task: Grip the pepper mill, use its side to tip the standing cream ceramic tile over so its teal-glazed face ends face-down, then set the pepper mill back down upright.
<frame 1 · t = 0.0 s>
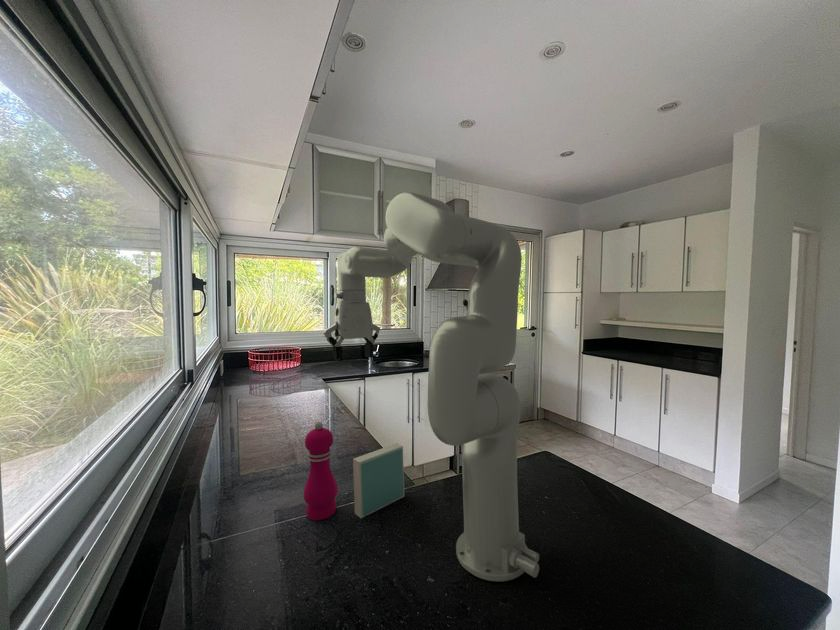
hand: (354, 359, 92), 31 cm above the counter, tool pointing down, fingers open, 9 cm apart
pepper mill: (321, 512, 73), on the counter
glazed tile: (380, 504, 75), on the counter
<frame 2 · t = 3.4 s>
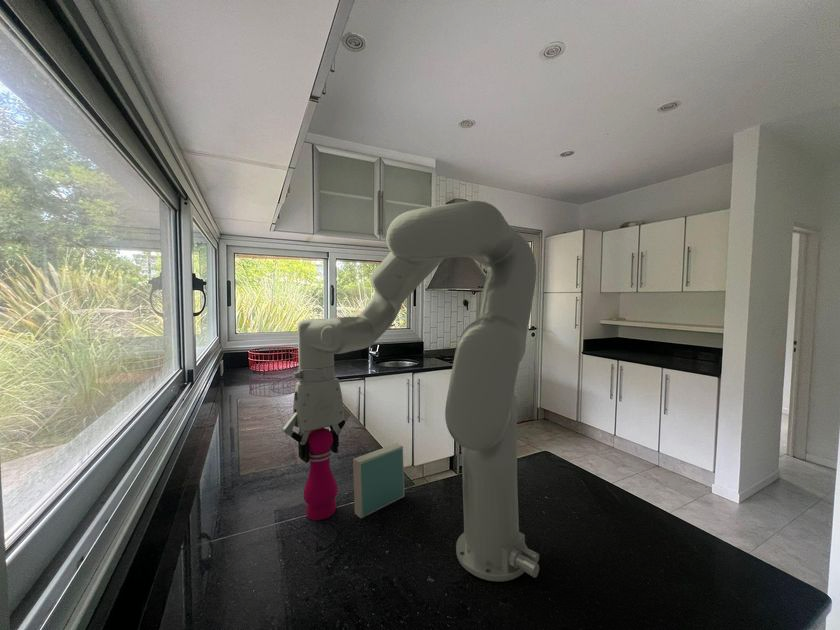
hand: (319, 455, 73), 13 cm above the counter, tool pointing down, fingers closed on pepper mill, 6 cm apart
pepper mill: (321, 512, 73), on the counter, touching gripper
everything else where it was.
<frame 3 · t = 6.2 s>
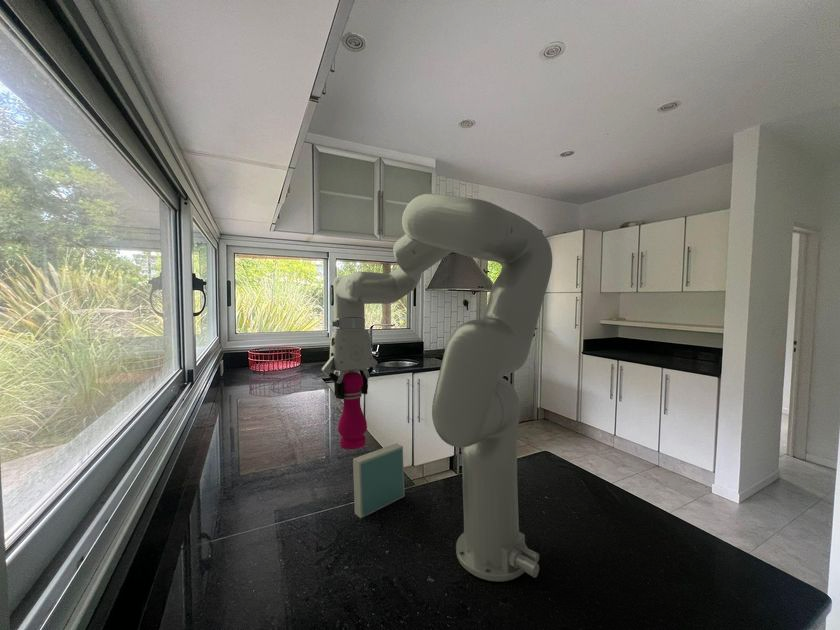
hand: (351, 395, 84), 23 cm above the counter, tool pointing down, fingers closed on pepper mill, 6 cm apart
pepper mill: (353, 445, 84), point 10 cm above the counter, touching gripper
everything else where it was.
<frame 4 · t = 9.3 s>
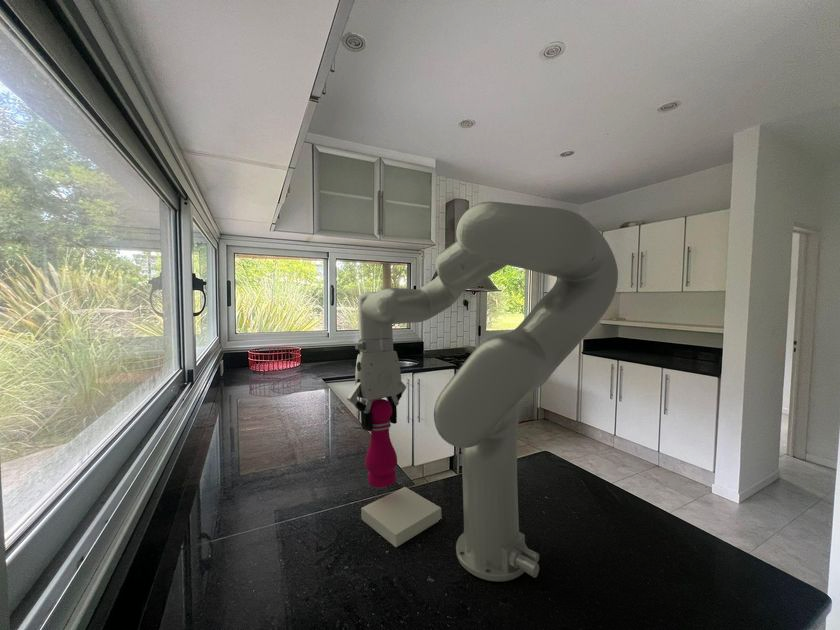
hand: (379, 425, 75), 18 cm above the counter, tool pointing down, fingers closed on pepper mill, 6 cm apart
pepper mill: (382, 481, 75), point 5 cm above the counter, touching gripper
glazed tile: (384, 502, 74), point 1 cm above the counter, tilted 90°
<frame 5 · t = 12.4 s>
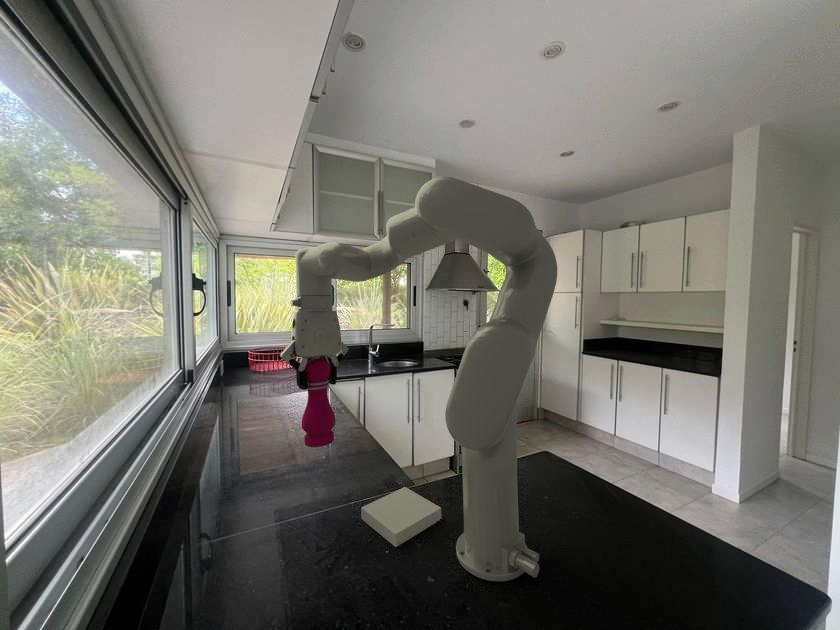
hand: (317, 385, 73), 28 cm above the counter, tool pointing down, fingers closed on pepper mill, 6 cm apart
pepper mill: (319, 442, 73), point 15 cm above the counter, touching gripper
everything else where it was.
when the fingers open (14 cm above the counter, at t = 15.4 s): pepper mill drops 1 cm, on the counter.
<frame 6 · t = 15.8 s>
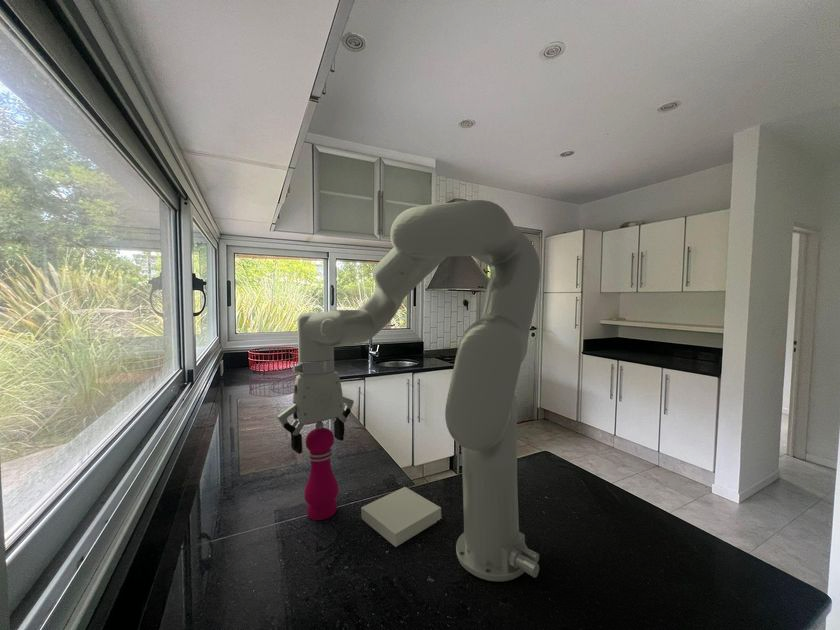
hand: (319, 445, 73), 15 cm above the counter, tool pointing down, fingers open, 9 cm apart
pepper mill: (322, 512, 73), on the counter
everything else where it was.
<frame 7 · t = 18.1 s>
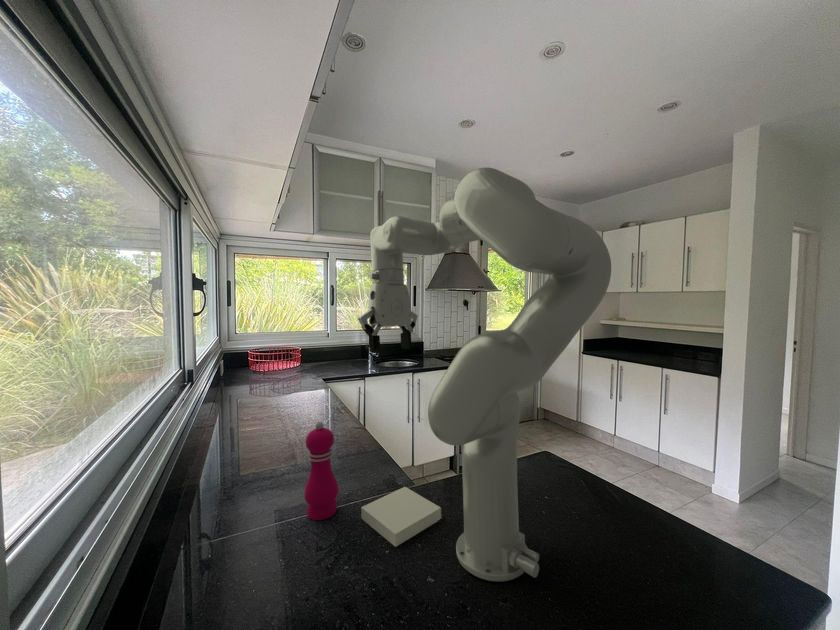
hand: (391, 350, 79), 35 cm above the counter, tool pointing down, fingers open, 9 cm apart
nothing on the counter moved.
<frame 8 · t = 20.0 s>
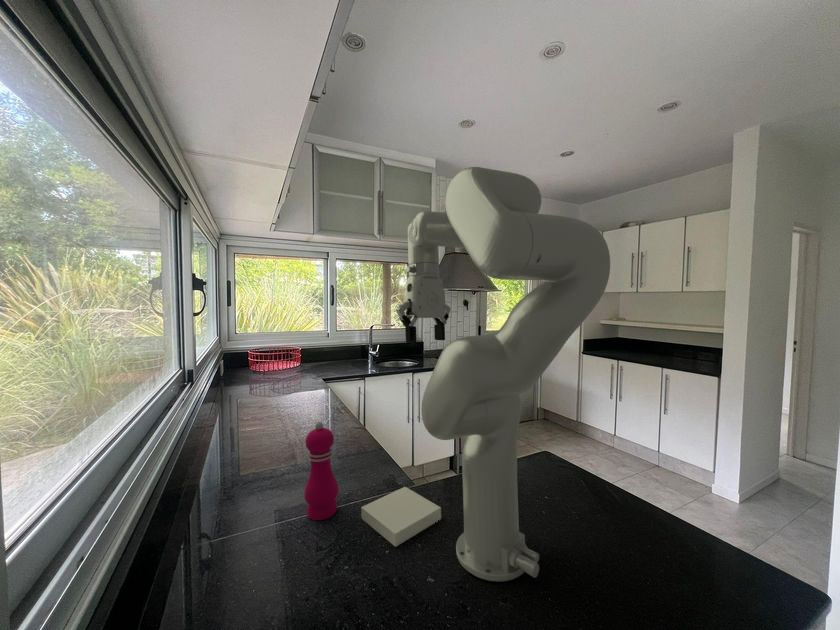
hand: (426, 341, 82), 36 cm above the counter, tool pointing down, fingers open, 9 cm apart
nothing on the counter moved.
at the end: glazed tile tilted 90°; glazed tile inside the target area (2.1 cm from its centre), point 1.1 cm above the counter; pepper mill tilted 0° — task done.
